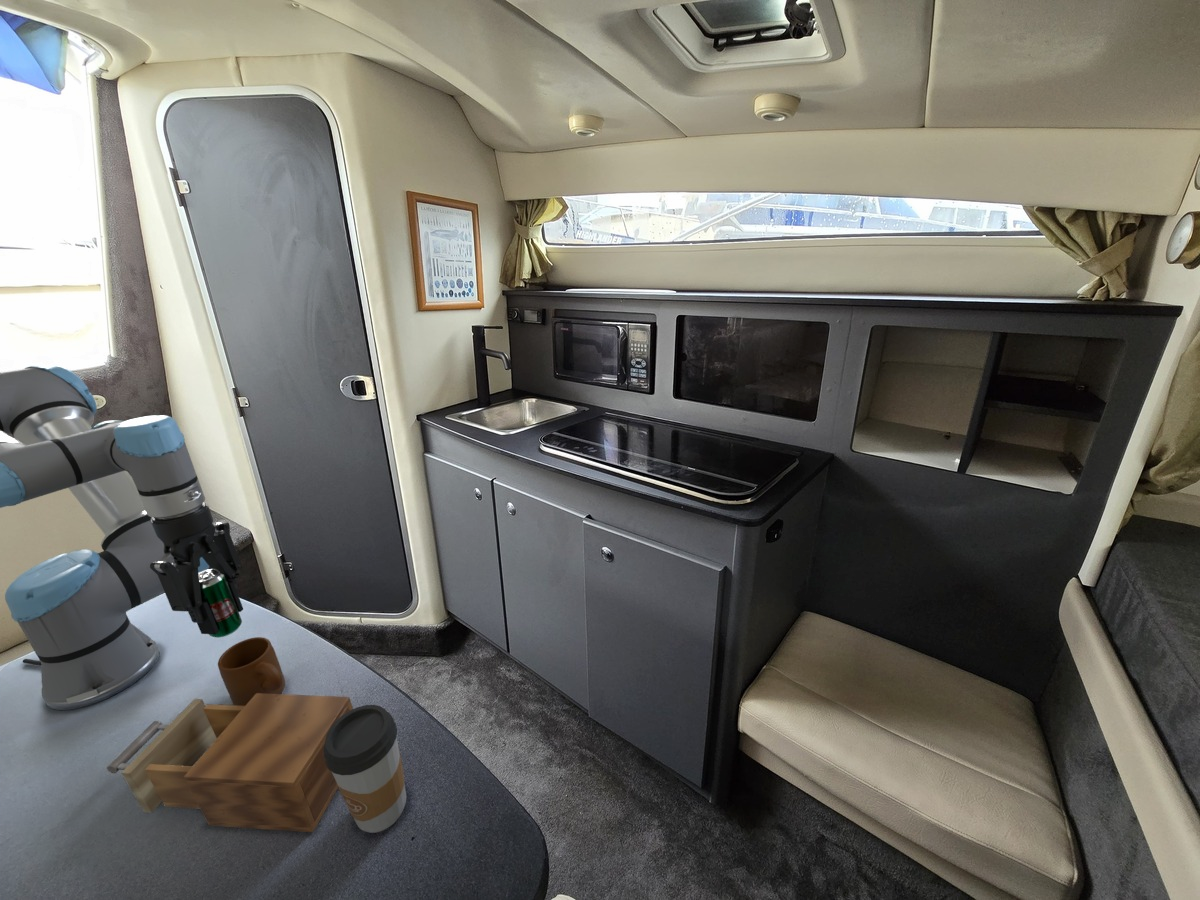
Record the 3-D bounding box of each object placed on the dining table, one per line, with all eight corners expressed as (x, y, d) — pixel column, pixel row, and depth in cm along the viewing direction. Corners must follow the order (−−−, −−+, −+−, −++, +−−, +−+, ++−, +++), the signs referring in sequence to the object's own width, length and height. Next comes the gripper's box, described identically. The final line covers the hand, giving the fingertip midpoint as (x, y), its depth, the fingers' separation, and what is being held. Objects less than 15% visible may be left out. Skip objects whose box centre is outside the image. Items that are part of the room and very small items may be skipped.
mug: (312, 695, 84) (297, 652, 81) (267, 731, 78) (249, 686, 75) (270, 671, 90) (254, 630, 86) (225, 703, 83) (206, 661, 80)
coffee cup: (333, 829, 64) (303, 748, 59) (381, 770, 71) (358, 693, 66) (383, 854, 61) (356, 772, 56) (427, 790, 68) (408, 712, 63)
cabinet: (208, 825, 65) (183, 776, 62) (274, 738, 77) (256, 693, 73) (313, 832, 64) (293, 782, 60) (363, 743, 76) (349, 696, 72)
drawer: (105, 810, 67) (80, 770, 64) (178, 733, 77) (160, 696, 74) (237, 818, 65) (218, 778, 62) (293, 739, 76) (279, 701, 73)
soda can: (213, 643, 87) (190, 588, 83) (206, 630, 91) (184, 576, 86) (246, 628, 91) (225, 574, 86) (238, 616, 94) (218, 563, 89)
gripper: (148, 539, 72) (201, 660, 81) (241, 485, 89) (276, 589, 98) (102, 538, 73) (159, 658, 82) (202, 484, 90) (241, 588, 99)
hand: (223, 620), depth 90 cm, fingers closed on soda can, 5 cm apart
